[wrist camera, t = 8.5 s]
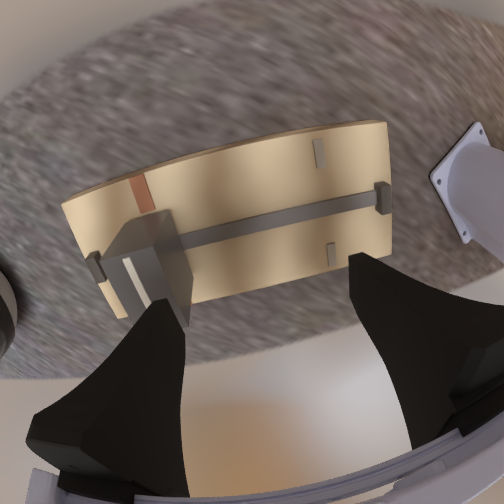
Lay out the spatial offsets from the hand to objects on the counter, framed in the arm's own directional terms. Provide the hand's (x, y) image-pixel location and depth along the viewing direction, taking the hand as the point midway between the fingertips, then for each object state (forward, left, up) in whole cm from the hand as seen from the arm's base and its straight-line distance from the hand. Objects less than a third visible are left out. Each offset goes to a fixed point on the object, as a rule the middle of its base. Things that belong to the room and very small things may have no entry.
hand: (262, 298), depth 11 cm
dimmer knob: (+3, +5, -8) cm, 10 cm away
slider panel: (0, +1, -10) cm, 10 cm away
